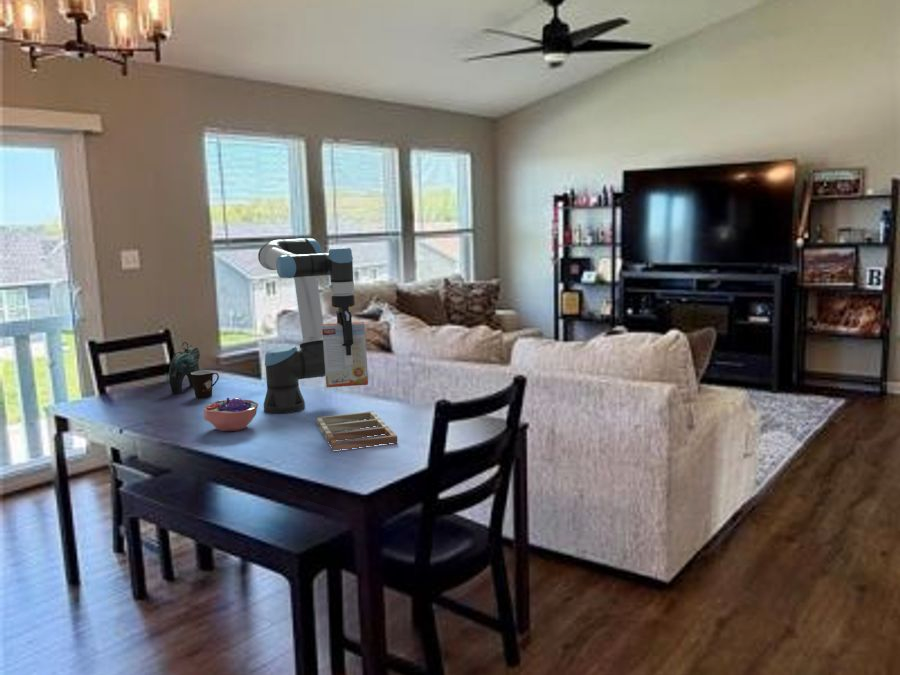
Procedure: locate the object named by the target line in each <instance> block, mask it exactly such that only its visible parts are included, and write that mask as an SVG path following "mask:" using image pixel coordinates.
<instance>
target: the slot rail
mask: <svg viewBox="0 0 900 675" xmlns="http://www.w3.org/2000/svg"><path fill="white" fill-rule="evenodd" d="M364 419H369V420H364ZM357 420H361V421H357ZM350 421H352V422H350ZM343 422H344V423H343ZM326 424H327V425H326ZM316 426H317V427H318V429H319V428H320V429H319V430H320V432H321V431H322V432H321V434H322V433H323V434H322V435H323V437H324V436H325V437H324V438H325V440H326V439H327V440H326V442H327V441H328V442H329V443H328V442H327V443H328V445H329V444H330V445H331V447H332V448H333V450H340V449H341V450H342V449H352V448H359V447H366V446H374V445H379V444H389V443H397V442H398V435H397V434H396V433H395V432H394V431H393V430H392V429H391V428H390V427H389V426H388V425H387V424H386V423H385V421H383V419H382V418H380V417H379V416H378V414H377V413H376V412H375V411H374V410H371V411H362V412H354V413H345V414H343V413H342V414H336V415H328V416H325V415H324V416H317V417H316ZM373 426H378V427H374V428H366V427H373ZM360 428H366V429H360ZM354 429H357V430H354ZM345 430H349V431H345ZM338 431H341V432H338ZM331 432H333V433H331ZM381 434H385V435H386V436H385V435H384V436H376V437H368V438H362V437H367V436H374V435H381ZM355 438H360V439H355ZM345 439H352V440H345ZM336 440H344V441H336ZM330 445H329V446H330ZM331 447H330V448H331ZM332 448H331V449H332ZM333 450H332V451H333Z"/></svg>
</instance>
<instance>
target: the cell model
mask: <svg viewBox="0 0 900 675" xmlns="http://www.w3.org/2000/svg"><path fill="white" fill-rule="evenodd" d="M258 407H259V403H258V402H256V401H254V400H251V399H250V400H249V399H242V398H241V397H234V398H232V399H230V397H226V400H220V399H219V400H216V401H215V402H210V403H207V404H206V405H205V406H204V407H203V408H202V409H203V417H204V421H206V422H208V423H209V424H211V426H213V427H214V428H216V429H217V430H220V431H223V432H228V431H233V432H238V431H241V430H243V429H245V428H246V427H247V426H248V425H250V424H251V422H252V421H253V419H254V418H255V417H256V416H257V412H258V411H257V410H258Z"/></svg>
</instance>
